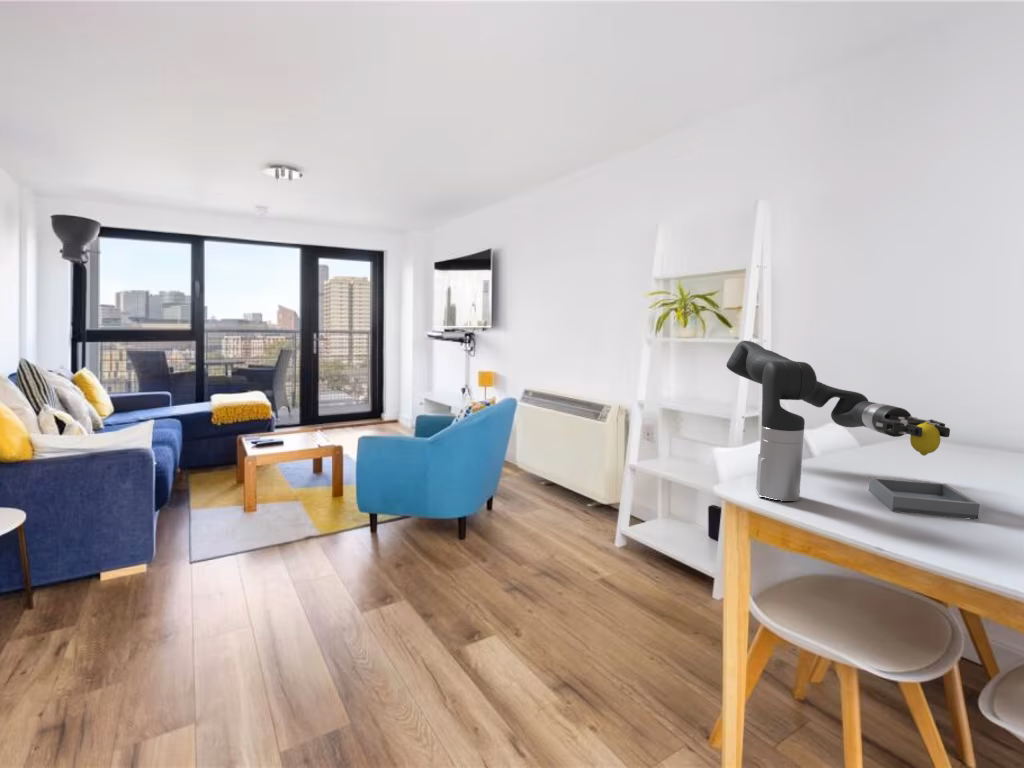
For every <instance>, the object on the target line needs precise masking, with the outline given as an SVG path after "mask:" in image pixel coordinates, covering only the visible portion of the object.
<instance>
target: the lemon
mask: <svg viewBox="0 0 1024 768" xmlns="http://www.w3.org/2000/svg"><path fill="white" fill-rule="evenodd" d="M917 426H918V427H921V428H922V436H921V437H917V436H913V435H910V440H909V441H910V444H911V447H912V448H913V450H915V451H916V452H918V453H919V454H920V455H921V456H926V455H928V454H931V453H934V452H935V451H937V449H938V448H939V447H940V444H941V436H940V433H939V431H938V429H937V428H936V427H935V426H933V425H931V424H929V423H928V422H925V423H923V424H919V425H917Z"/></svg>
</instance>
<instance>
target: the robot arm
mask: <svg viewBox="0 0 1024 768" xmlns="http://www.w3.org/2000/svg"><path fill="white" fill-rule="evenodd" d="M725 365H726V367H727V369H728V371H731V372H732V373H733V374H735V375H738V376H740V377H742V378H744V379H747V380H749V381H752V382H754V383H757V384H760V385H762V386H761V387H762V388H761V389H762V397H761V399H762V401H761V403H762V405H761V426H760V429H761V430H760V432H761V433H760V444H759V445H760V446H759V447H760V448H759V453H758V455H757V467H756V468H757V471H756V487H755V490H756V489H757V491H758V493H759V495H761V496H766V497H769V498H773V499H777V500H782V501H794V502H797V501H799V500H800V496H801V494H800V493H801V479H802V464H803V452H804V451H803V449H804V435H805V425H806V424H805V418H804V417H803V416H801V415H799V414H796V413H794V412H791V411H788V410H786V409H785V408H783V407H782V406H781V401H782V400H784V401H803V402H805V403H808V404H809V405H812V406H813V407H815V408H822V407H824V406H825V405H826V404H827V403H828V402H829V401H830V400H831V399H833V398H838V401H837V403H836V404H835V406H834V407H833V409H832V410H831V413H830V417H831V419H832V421H833V422H834V423H835V424H836V425H838V426H841V427H844V428H860V427H865V428H868V429H869V430H872V431H875V432H877V433H880V434H883V435H886V436H890V437H893V438H894V437H895V438H897V437H898V438H899V437H902V436H906V435H910V436H911V435H913V436H917V437H921V436H922V428H921V427H918V426H917V425H919V424H923V423H925V422H928V423H929V424H931V425H933V426H935V427H936V428H937V429H938V431H939V433H940V437H942V438H949V437H950V436H951V435H950V434H951V429H950V428H949V427H947V426H946V423H943V422H941V421H938V420H934V419H924V418H918V417H916V416H912V413H910V412H909V411H908V410H907V409H905V408H903V407H898V406H895V405H891V404H885V403H878V402H874V401H869V399H868V398H867V396H866V395H864V394H862V393H860V392H858V391H852V390H847V389H841V388H837V387H833V386H831V385H827V384H826V383H823V382H821V381H819V380H818V378H817V374H816V371H815V369H814V368H813V367H812V365H811V364H809V363H808V362H805V361H795V360H792V359H789V358H788V357H785V356H783V355H780V354H779V353H777V352H774V351H772V350H769V349H765V348H764V347H763V346H761V345H760V344H758V343H756V342H754V341H751V340H741V341H740V342H738V343H737V344H736V346H735V348H734V350H733V351H732V354H731V355H730V357H729V359H728V361H727V362H726V364H725ZM780 400H781V401H780ZM757 491H756V492H757ZM782 501H781V502H782Z"/></svg>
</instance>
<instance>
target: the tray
mask: <svg viewBox="0 0 1024 768" xmlns="http://www.w3.org/2000/svg"><path fill="white" fill-rule="evenodd" d="M868 483H869V484H868V492H869V493H871V494H872V495H873V496H874V498H876V499H877V500H878V501H880V502H881V503H882V504H883V505H884V506H885V507H886V508H888V510H890V511H891V512H896V513H905V514H906V513H907V514H914V515H916V514H917V515H927V516H936V517H944V516H945V518H947V517H948V518H954V517H955V518H956V519H964V518H970V519H969V520H974V519H978V520H979V516H980V509H981V508H980V506H981V504H980V503H978V502H977V501H975V500H973V499H972V498H970V497H968V496H967V495H965V494H963V493H961V492H960V491H959V490H956V489H954V487H951V486H950V485H948V484H946V483H942V482H941V483H940V482H929V481H917V480H907V479H906V480H904V479H892V478H881V477H869V479H868Z"/></svg>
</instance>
